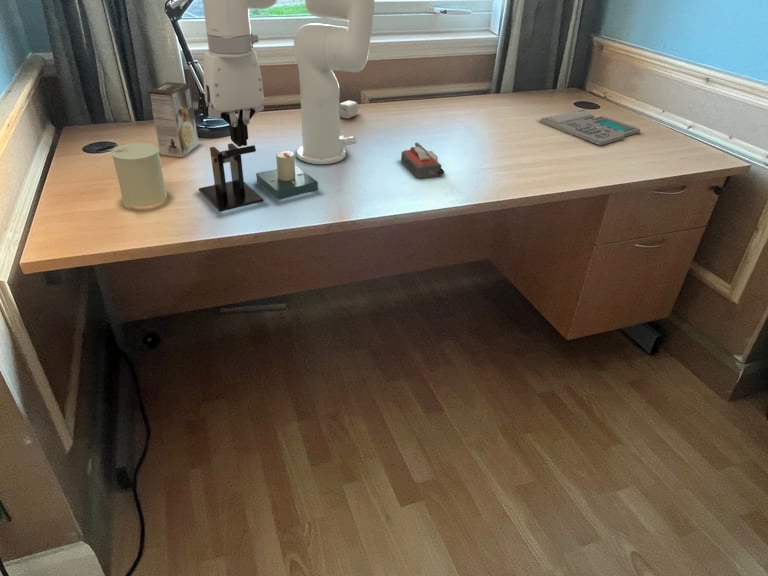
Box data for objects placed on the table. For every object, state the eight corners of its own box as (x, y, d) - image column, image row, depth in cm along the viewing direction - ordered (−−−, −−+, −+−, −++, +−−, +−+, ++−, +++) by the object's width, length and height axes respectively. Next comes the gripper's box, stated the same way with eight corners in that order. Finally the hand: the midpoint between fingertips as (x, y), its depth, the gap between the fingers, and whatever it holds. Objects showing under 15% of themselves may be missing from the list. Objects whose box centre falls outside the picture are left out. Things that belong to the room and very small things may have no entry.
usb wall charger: (338, 116, 178) (338, 103, 176) (352, 110, 183) (352, 98, 180) (349, 119, 176) (349, 105, 174) (362, 113, 181) (362, 100, 178)
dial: (274, 175, 133) (273, 151, 130) (290, 172, 135) (289, 148, 131) (282, 182, 130) (280, 157, 127) (298, 178, 132) (297, 154, 129)
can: (129, 191, 130) (118, 140, 123) (172, 191, 131) (162, 140, 124) (117, 210, 122) (104, 156, 116) (162, 210, 123) (152, 157, 116)
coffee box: (177, 142, 155) (166, 80, 146) (199, 145, 154) (190, 83, 145) (159, 155, 148) (147, 91, 139) (183, 158, 147) (172, 93, 138)
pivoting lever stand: (263, 205, 127) (259, 153, 121) (219, 216, 122) (212, 163, 116) (241, 185, 135) (236, 135, 128) (199, 194, 130) (191, 143, 124)
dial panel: (295, 176, 140) (294, 164, 138) (318, 193, 133) (317, 181, 131) (257, 185, 135) (255, 172, 134) (278, 203, 128) (277, 190, 126)
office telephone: (540, 114, 179) (583, 104, 189) (539, 122, 181) (581, 112, 190) (602, 137, 164) (645, 125, 173) (600, 146, 165) (643, 134, 175)
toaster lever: (257, 154, 116) (253, 142, 116) (228, 159, 113) (225, 147, 113) (238, 160, 126) (235, 149, 125) (212, 165, 123) (208, 154, 123)
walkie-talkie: (451, 177, 143) (419, 148, 159) (453, 160, 141) (420, 132, 156) (418, 181, 141) (389, 151, 156) (420, 164, 138) (390, 135, 153)
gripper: (260, 36, 109) (266, 132, 120) (181, 43, 102) (195, 144, 112) (277, 44, 104) (283, 143, 115) (196, 52, 97) (210, 157, 107)
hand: (240, 143), depth 114 cm, fingers closed
